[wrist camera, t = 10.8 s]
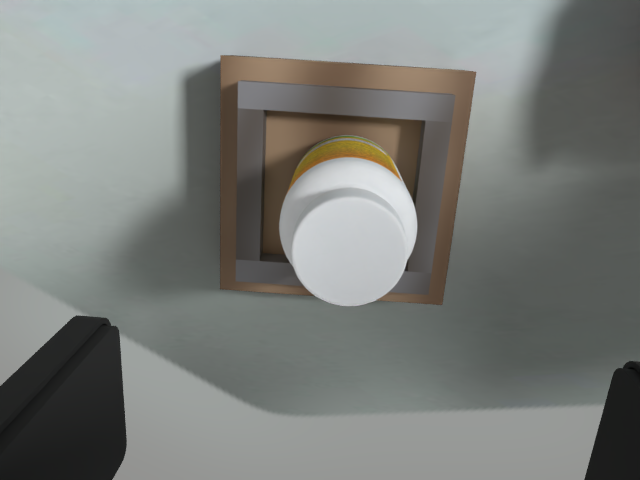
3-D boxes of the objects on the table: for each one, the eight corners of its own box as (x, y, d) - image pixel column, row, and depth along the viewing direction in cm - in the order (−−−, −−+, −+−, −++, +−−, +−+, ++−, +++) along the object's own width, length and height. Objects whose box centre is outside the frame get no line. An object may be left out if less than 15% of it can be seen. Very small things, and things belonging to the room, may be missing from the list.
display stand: (462, 70, 28) (482, 72, 24) (433, 282, 32) (446, 314, 28) (232, 55, 29) (215, 55, 25) (230, 268, 32) (215, 298, 29)
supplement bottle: (272, 166, 27) (238, 222, 18) (369, 113, 26) (384, 144, 17) (324, 255, 29) (317, 349, 20) (418, 208, 28) (456, 285, 19)
